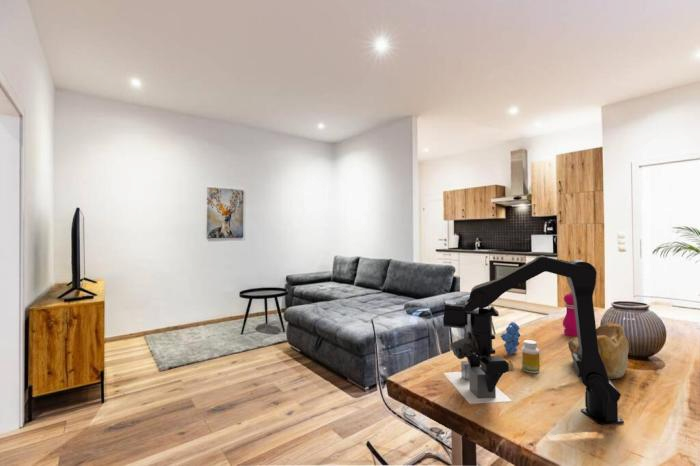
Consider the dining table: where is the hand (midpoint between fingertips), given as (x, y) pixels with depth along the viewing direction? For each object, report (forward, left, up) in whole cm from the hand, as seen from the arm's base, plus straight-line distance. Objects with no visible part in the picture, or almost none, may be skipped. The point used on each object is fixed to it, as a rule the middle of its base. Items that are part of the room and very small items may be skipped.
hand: (482, 384), depth 96 cm
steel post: (+10, 0, -3) cm, 10 cm away
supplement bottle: (+16, -25, -4) cm, 30 cm away
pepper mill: (+50, -67, -4) cm, 84 cm away
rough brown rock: (+15, -48, -4) cm, 50 cm away
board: (+5, 0, -4) cm, 6 cm away
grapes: (+32, -27, -4) cm, 42 cm away
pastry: (+17, -15, -4) cm, 24 cm away
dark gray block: (0, 0, -3) cm, 3 cm away
